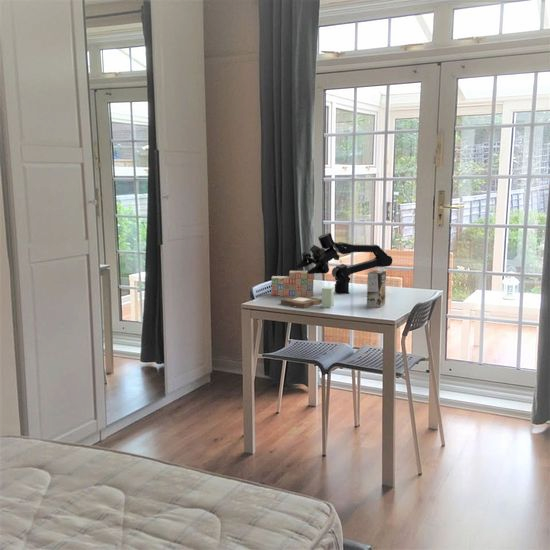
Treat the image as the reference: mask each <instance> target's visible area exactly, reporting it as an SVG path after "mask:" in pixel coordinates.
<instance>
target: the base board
mask: <svg viewBox="0 0 550 550" xmlns="http://www.w3.org/2000/svg"><path fill="white" fill-rule="evenodd" d="M320 303H321V304H322V298H316V297H312V296H290V297H287V298H283V299H280V305H283V304H286V305H285V306H289V305H290V307H294V306H296V307H295V308H300V307H301V308H302V309H306V308H310V307H313V305H314V306H317V305H321V304H320ZM316 304H317V305H316ZM309 306H310V307H309ZM305 307H306V308H305Z"/></svg>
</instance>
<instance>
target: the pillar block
mask: <svg viewBox="0 0 550 550" xmlns="http://www.w3.org/2000/svg"><path fill="white" fill-rule="evenodd" d="M334 294H335V286H323V287H321V299H322V303H321V308H327V307H332V306H333V307H334V298H335V297H334ZM333 307H332V308H333Z"/></svg>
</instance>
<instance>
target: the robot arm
mask: <svg viewBox="0 0 550 550" xmlns="http://www.w3.org/2000/svg"><path fill="white" fill-rule="evenodd" d="M317 239H318V241H319V244H320V246H321V247H320V246H317V245H315V244H313V245H312V246H311V247H310V249H309V250H310V251H311V253H312V255H311V254H310V253H308V252H307V251H304V252H302V253H301V261H299V262H298V264H297V265H296V269H300V268H302V269H303V268H305V267H306V268H307V267H309V266H310V265H312V264H314V266H312V268H311V269H309V270H307V271H308V272H307V273H308V274H313V275H314V274H315V275H316V274H323V275H324V274H328V273H329V272H330V267H329V262H330V261H331V260H333V259H334V260H335V261H339V260H340V256H341V255H348V254H351V253H372V254H373V255H374V258H372V259H369V260H366V261H362V262H359V263H355V264H352V265H351V264H350V265H346V264H344V263H341V264H339V265H335V267H333V268H332V269H331V275H332V277H333V278H334V280H335V283H334V293H336V294H337V295H344V294H345V295H346V294H348V295H349V294H350V292H349V291H350V288H349V287H350V285H349V283H350V282H351V277H350V276H351V275H352V274H356V273H360V272H363V271H367V270H370V269H374V268H385V267H390V266H392V263H393V257H392V256H391V255H388V254H387V253H386V252H385V251H384V250H383V249H382V248H381V246H380V245H378V244H353V243H348V242H342V241H339V242H335V241H334V239H333V236H332V233H330V232H328V233H324V234H320V235H319V236H318V237H317Z"/></svg>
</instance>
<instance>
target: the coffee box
mask: <svg viewBox="0 0 550 550" xmlns="http://www.w3.org/2000/svg"><path fill="white" fill-rule="evenodd" d="M366 282H367V285H366V286H367V289H366V307H369V308H376V307H378V309H379V308H381V307H382V306H385V305H386V289H387V288H386V287H387V285H386V284H387V283H386V282H387V271H386V270H372V271H369V272H367V281H366ZM384 304H385V305H384Z"/></svg>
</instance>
